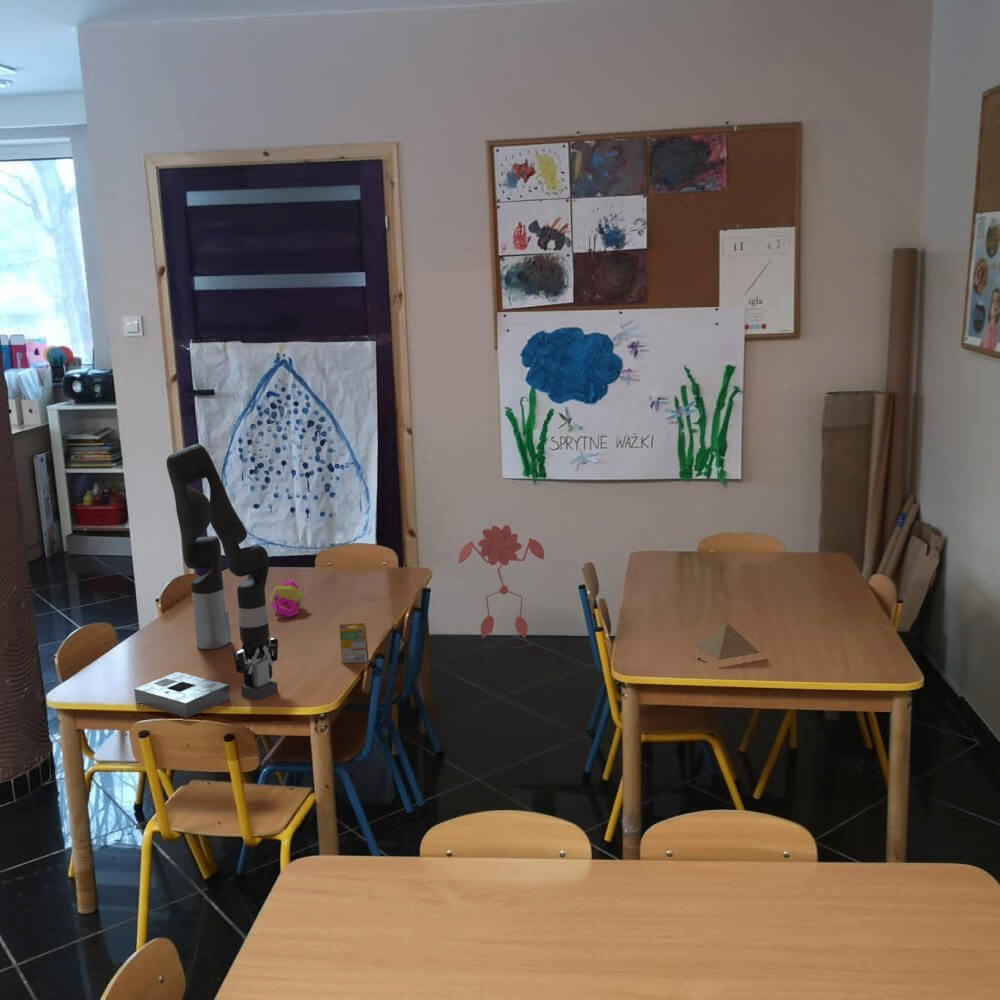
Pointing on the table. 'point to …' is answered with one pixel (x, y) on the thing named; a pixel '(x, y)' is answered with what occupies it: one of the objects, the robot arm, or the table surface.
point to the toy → (287, 599)
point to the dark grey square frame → (259, 691)
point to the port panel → (182, 694)
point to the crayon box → (353, 643)
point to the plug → (260, 674)
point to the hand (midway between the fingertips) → (258, 682)
